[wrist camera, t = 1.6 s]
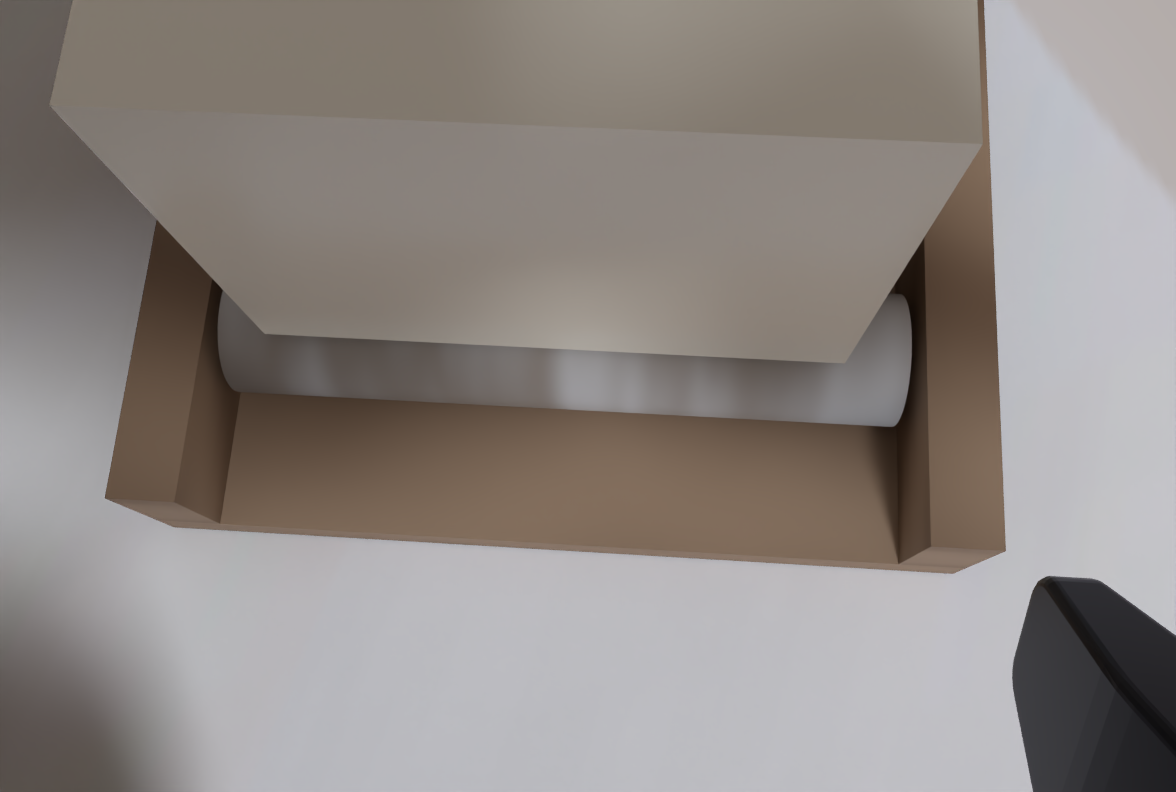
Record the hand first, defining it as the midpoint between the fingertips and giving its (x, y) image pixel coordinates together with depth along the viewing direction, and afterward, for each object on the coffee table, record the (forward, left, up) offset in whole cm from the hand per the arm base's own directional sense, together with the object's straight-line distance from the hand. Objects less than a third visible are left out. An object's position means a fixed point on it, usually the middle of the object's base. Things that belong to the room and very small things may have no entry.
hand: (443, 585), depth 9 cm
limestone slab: (+10, 0, -9) cm, 14 cm away
